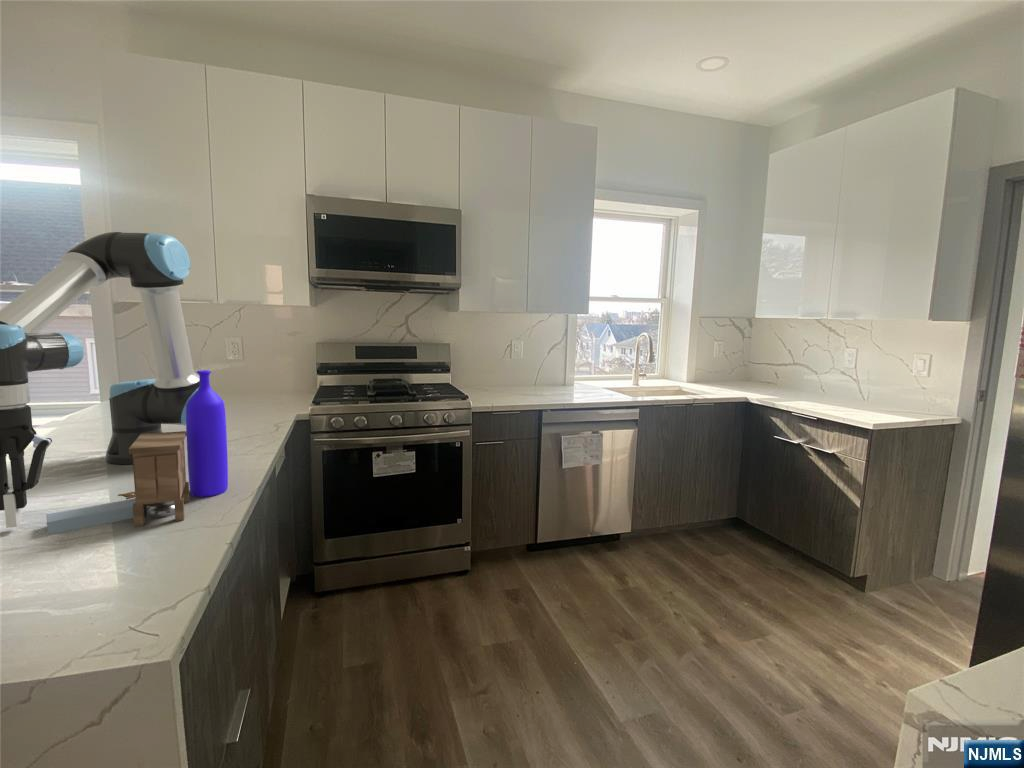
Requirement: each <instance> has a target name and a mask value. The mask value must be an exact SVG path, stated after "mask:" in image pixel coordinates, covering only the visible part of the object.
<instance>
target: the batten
mask: <svg viewBox="0 0 1024 768" xmlns="http://www.w3.org/2000/svg"><path fill="white" fill-rule="evenodd" d="M134 503H136V500H135V498H130V499H125V500H119V501H114V502H108V503H102V504H97V505H91V506H86V507H80V508H74V509H69V510H64V511H57V512H52V513H47V514H45V516H46V519H45V520H46V530H47V531H46V533H47V536H50V535H56V534H61V533H66V532H70V531H76V530H81V529H84V528H85V529H86V528H90V527H91V528H92V527H96V526H100V525H101V526H102V525H104V524H110V523H116V522H120V521H125V520H131V519H134V517H133V504H134Z"/></svg>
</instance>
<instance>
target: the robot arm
mask: <svg viewBox="0 0 1024 768" xmlns="http://www.w3.org/2000/svg"><path fill="white" fill-rule="evenodd" d="M60 262H61V263H59V264H58V265H57V266H56V267H55V268H53V269H52V270H50V271H49V272H48V273H47V274H46V275H44V276H43V277H41V278H40V279H39V280H37V281H36V282H34V284H33V285H31V286H30V287H28V288H27V289H25V290H24V291H23V292H22V293H20V294H19V295H18V296H17V297H16V298H14V299H13V300H11V301H10V302H9V303H8V304H6V306H4V307H2V308H1V309H0V512H1V511H4V517H5V527H6V528H15V527H18V526H19V525H21V523H22V522H23V515H22V514H23V513H22V509H24V508H25V507H26V506H27V504H28V499H27V491H28V490H32V489H34V487H36V486H37V485H38V484H39V481H40V477H41V472H42V468H43V463H44V459H45V457H46V452H47V450H48V447H49V446H50V445H51V443H52V442H53V439H52V438H50V437H46V438H45V437H43V436H41V435H38V434H37V431H36V430H35V429H34V427H33V419H32V408H31V406H30V405H28V404H29V403H30V402H31V397H30V388H29V375H28V374H29V373H31V372H39V371H41V372H42V371H49V370H50V371H51V370H64V369H67V368H72V367H75V366H78V365H79V364H80V363H81V362H82V361H83V359H84V355H85V350H84V345H83V343H82V342H81V341H80V339H79V338H78V337H76V336H75V335H73V334H70V333H67V332H66V333H63V332H62V333H60V332H52V333H49V332H48V333H41V331H43V329H45V328H46V327H47V326H48V325H49V324H51V323H52V322H53V321H54V320H55V319H56V318H58V316H60V315H61V314H62V313H64V311H65V310H67V309H68V308H69V307H70V306H71V305H73V304H74V302H76V301H77V300H78V299H80V298H81V297H82V296H83V295H84V294H85V293H86V292H87V291H89V290H90V289H92V287H99V286H102V285H103V284H104V283H105V282H106V281H108V280H112V279H115V278H117V279H118V278H126V279H127V278H129V280H130V285H131V287H132V288H133V289H134V290H136V291H137V292H138V293H140V297H141V298H140V299H141V302H142V306H143V308H142V309H143V312H144V316H145V320H146V324H147V329H148V334H149V335H148V336H149V338H150V343H151V348H152V349H151V350H152V353H153V357H154V362H155V366H156V367H155V368H156V370H157V376H158V377H157V378H147V379H137V380H128V381H122V382H121V381H120V382H116V383H113V384H111V386H110V387H109V397H108V400H109V409H110V410H109V411H110V419H111V421H110V422H111V438H110V440H109V443H108V446H107V449H106V453H105V461H106V462H107V463H109V464H113V465H133V453H132V454H129V448H130V446H131V445H132V444H133V443H134V442H135V440H136V439H137V438H138V437H139V436H140V434H148V433H164V432H163V429H162V425H177V426H178V425H179V426H181V425H182V426H186V405H187V402H188V401H189V399H190V398H191V397H192V396H193V395H194V393H195V392H196V391H197V390H198V389H199V386H200V376H199V374H198V373H197V372H195V370H194V365H193V360H192V359H193V358H192V355H191V350H190V343H189V339H188V334H187V330H186V329H187V328H186V323H185V318H184V312H183V308H182V303H181V295H180V292H179V291H180V289H181V288H182V287H183V286H184V279H185V280H186V278H188V277H189V274H190V270H191V260H190V257H189V253H188V251H187V249H186V248H185V246H184V245H183V244H182V242H180V241H179V240H178V239H177V238H175V237H174V236H172V235H170V234H163V233H156V232H121V231H110V232H105V233H101V234H97V235H95V236H92V237H91V238H88V239H86V240H85V241H83V242H80V243H79V244H77V245H76V246H74V247H73V248H71V249H70V250H68V251H67V252H66V253H64V254H63V255H62V257H61V258H60ZM32 442H33V445H32V446H33V448H34V451H33V453H32V458H31V462H30V465H29V470H28V474H27V476H26V466H25V450H26V449H27V447H28V446H29V445H30V444H31V443H32ZM7 455H8V459H9V461H10V470H11V480H12V481H11V482H12V490H11V486H9V478H8V477H9V476H8V468H7ZM26 477H27V478H26Z"/></svg>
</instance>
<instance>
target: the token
mask: <svg viewBox="0 0 1024 768" xmlns="http://www.w3.org/2000/svg"><path fill="white" fill-rule="evenodd" d="M145 510H146V511H145V512H146V517H147V518H149V517H151V518H150V519H163V517H164V518H169V517H172V516H175V506H174V501H169V502H160V503H152V504H150V505H148V506H147V507H146V509H145Z"/></svg>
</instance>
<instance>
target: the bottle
mask: <svg viewBox="0 0 1024 768" xmlns="http://www.w3.org/2000/svg"><path fill="white" fill-rule="evenodd" d="M212 371H213V370H207V369H206V370H197V371H196V374H198V375H199V376H200V386H199V389H198V390H197V391H196V392H195V393H194V395H193V396H192V397H191V398H190V399H189V401H188V402H187V405H186V425H185V429H186V430H185V431H186V453H187V454H186V455H187V470H188V473H187V474H188V482H189V493H190V494H191V496H193V497H197V498H208V497H215V496H218V495H222V494H223V493H226V492H227V490H228V487H229V470H228V469H229V465H228V435H227V417H226V407H225V402H224V400H223V399H222V398H221V396H219V394H218V393H217V392H216V391H214V390H213V389H212V387H211V385H210V374H212Z"/></svg>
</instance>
